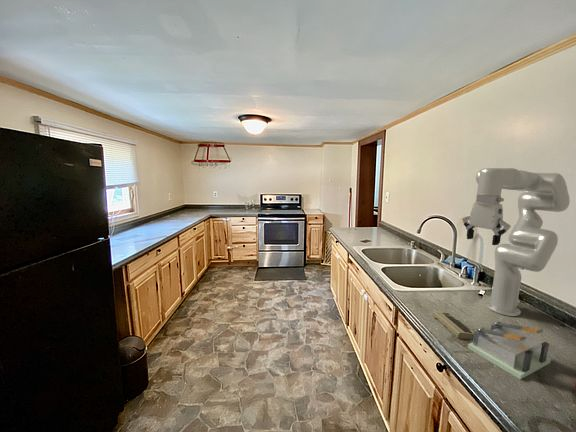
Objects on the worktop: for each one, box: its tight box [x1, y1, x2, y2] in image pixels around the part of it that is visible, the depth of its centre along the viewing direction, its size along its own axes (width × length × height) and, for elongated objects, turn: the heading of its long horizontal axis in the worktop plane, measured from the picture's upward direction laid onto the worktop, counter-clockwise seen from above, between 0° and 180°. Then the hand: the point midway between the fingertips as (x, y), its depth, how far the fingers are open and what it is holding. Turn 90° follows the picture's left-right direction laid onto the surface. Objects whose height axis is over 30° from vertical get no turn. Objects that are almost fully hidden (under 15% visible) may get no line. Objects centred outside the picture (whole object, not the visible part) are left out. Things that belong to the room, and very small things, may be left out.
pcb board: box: [467, 342, 552, 380], centre depth 91 cm, size 18×16×2 cm
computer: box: [432, 311, 475, 340], centre depth 108 cm, size 16×8×3 cm, turn 4°
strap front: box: [477, 327, 526, 341], centre depth 88 cm, size 2×14×1 cm, turn 23°
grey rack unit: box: [472, 321, 550, 372], centre depth 90 cm, size 16×15×6 cm
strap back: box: [493, 321, 544, 334], centre depth 92 cm, size 2×14×1 cm, turn 23°
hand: (482, 241), depth 104 cm, fingers open, 9 cm apart
